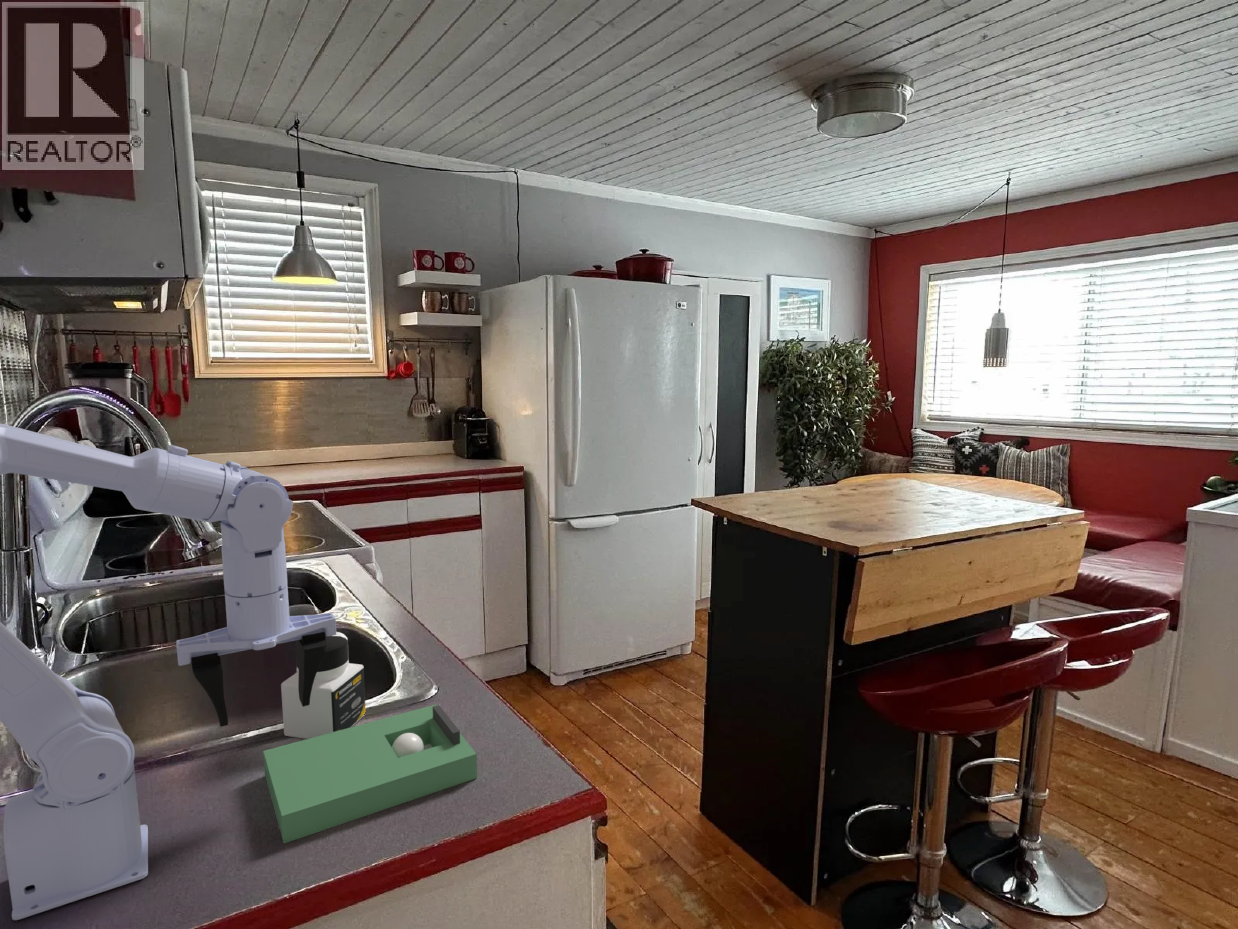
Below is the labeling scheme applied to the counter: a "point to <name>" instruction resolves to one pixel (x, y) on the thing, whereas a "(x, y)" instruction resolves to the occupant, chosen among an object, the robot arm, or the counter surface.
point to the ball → (407, 744)
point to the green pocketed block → (364, 771)
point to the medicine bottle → (326, 695)
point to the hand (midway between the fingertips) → (265, 711)
